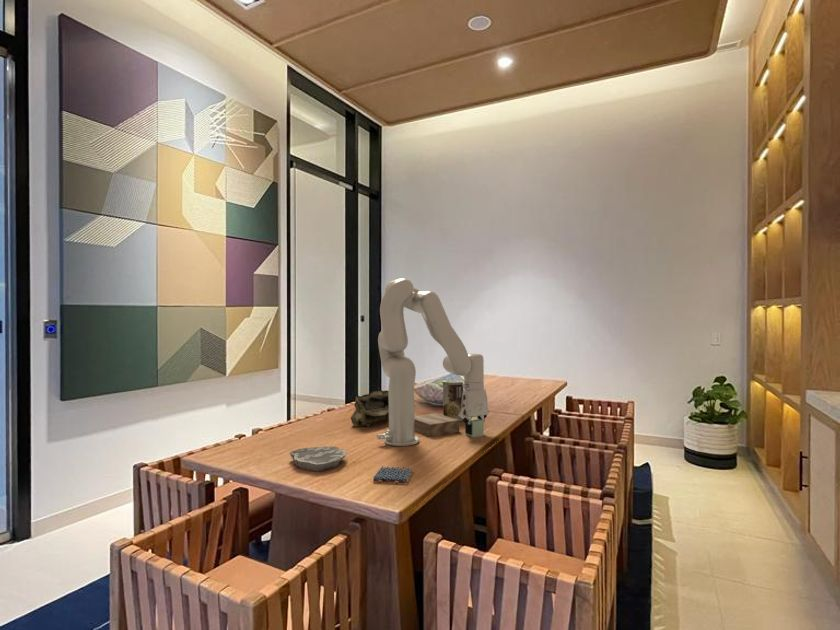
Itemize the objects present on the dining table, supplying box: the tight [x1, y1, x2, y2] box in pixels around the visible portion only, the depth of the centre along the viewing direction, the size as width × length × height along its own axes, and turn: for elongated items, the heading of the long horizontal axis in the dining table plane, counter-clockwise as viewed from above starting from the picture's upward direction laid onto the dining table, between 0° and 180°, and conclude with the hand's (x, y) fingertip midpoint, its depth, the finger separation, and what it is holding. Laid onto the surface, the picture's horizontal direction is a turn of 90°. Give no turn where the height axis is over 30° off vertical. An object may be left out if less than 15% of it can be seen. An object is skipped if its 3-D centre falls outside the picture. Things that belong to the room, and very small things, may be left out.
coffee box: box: [442, 381, 464, 422], centre depth 214 cm, size 9×6×16 cm
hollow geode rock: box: [350, 389, 389, 427], centre depth 213 cm, size 28×13×15 cm
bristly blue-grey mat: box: [372, 465, 415, 485], centre depth 140 cm, size 10×11×2 cm
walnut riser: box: [414, 412, 460, 437], centre depth 196 cm, size 14×16×5 cm
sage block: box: [464, 417, 485, 438], centre depth 187 cm, size 5×5×6 cm
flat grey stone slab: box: [289, 446, 348, 472], centre depth 155 cm, size 20×17×3 cm
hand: (474, 432), depth 187 cm, fingers closed on sage block, 5 cm apart
